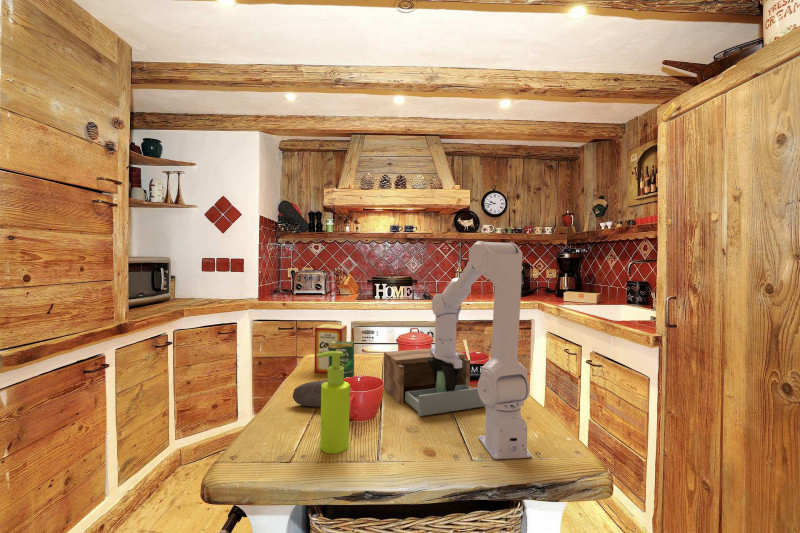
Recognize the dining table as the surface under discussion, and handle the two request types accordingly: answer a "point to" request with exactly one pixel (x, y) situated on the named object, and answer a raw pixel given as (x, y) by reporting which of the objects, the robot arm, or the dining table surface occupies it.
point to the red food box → (327, 343)
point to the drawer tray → (443, 400)
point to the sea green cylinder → (440, 382)
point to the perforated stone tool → (309, 394)
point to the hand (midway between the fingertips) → (444, 387)
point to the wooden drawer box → (414, 371)
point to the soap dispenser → (334, 407)
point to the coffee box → (348, 357)
